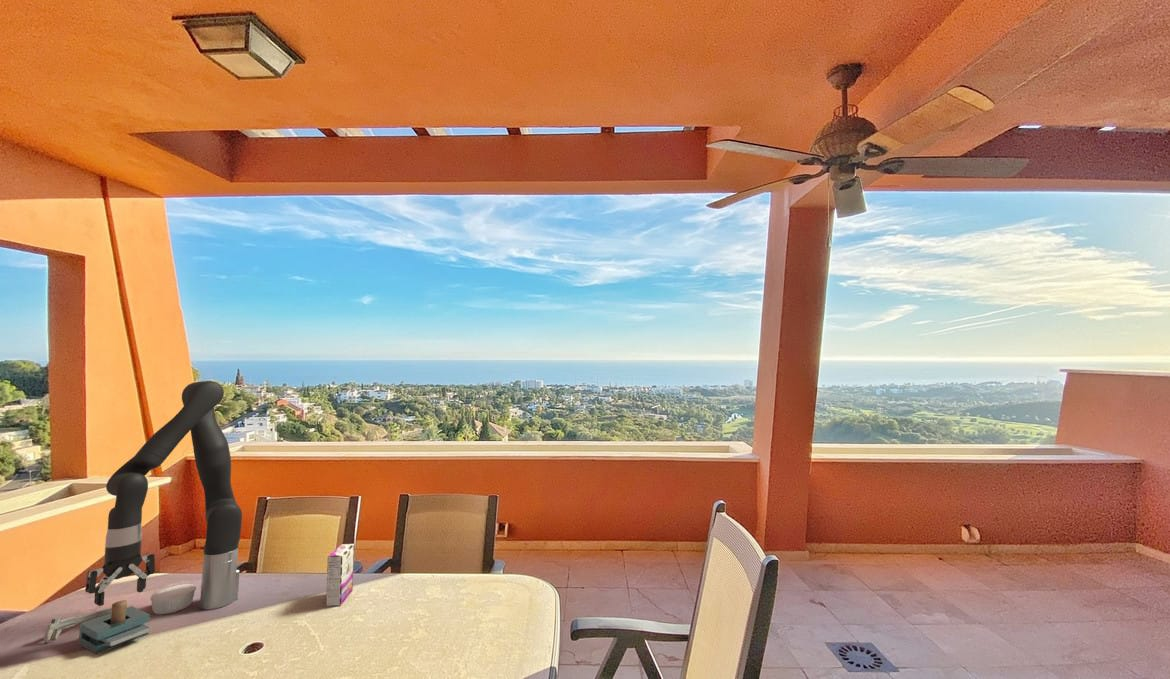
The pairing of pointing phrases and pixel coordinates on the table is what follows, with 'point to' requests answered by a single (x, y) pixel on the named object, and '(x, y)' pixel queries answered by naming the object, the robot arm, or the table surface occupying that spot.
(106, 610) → the caliper
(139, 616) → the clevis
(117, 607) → the pin
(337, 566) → the candy bar box
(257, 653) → the table surface
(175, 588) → the ramekin
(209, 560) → the robot arm
